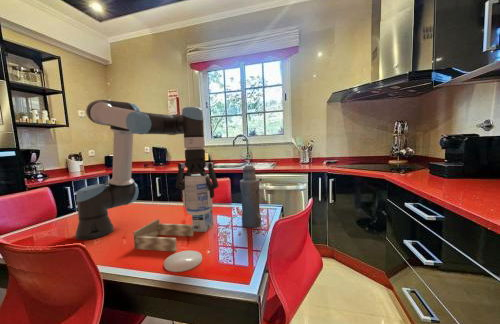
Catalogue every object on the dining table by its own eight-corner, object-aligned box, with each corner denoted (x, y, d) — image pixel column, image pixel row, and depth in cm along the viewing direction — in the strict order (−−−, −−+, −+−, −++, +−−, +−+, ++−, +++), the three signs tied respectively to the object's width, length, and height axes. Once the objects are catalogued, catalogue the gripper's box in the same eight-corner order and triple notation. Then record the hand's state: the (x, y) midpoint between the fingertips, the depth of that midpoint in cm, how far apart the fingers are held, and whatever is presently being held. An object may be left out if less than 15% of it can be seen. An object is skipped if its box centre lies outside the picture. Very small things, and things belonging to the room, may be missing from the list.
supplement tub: (202, 217, 81) (200, 177, 80) (181, 214, 85) (178, 176, 83) (215, 209, 90) (213, 173, 89) (196, 207, 94) (194, 173, 92)
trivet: (156, 270, 74) (155, 268, 74) (176, 251, 87) (176, 249, 87) (191, 273, 71) (191, 271, 71) (207, 253, 84) (207, 251, 84)
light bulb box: (205, 232, 104) (204, 210, 104) (192, 231, 106) (191, 209, 105) (213, 224, 115) (212, 203, 114) (201, 223, 116) (200, 203, 115)
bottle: (258, 228, 106) (255, 166, 104) (239, 227, 110) (236, 166, 107) (263, 221, 115) (261, 164, 113) (245, 220, 118) (243, 164, 116)
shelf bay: (134, 248, 90) (133, 232, 90) (157, 233, 105) (156, 219, 105) (175, 251, 87) (174, 234, 86) (193, 235, 102) (192, 220, 101)
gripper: (162, 150, 83) (167, 208, 85) (219, 148, 79) (222, 209, 81) (173, 149, 90) (176, 202, 92) (225, 147, 86) (227, 203, 88)
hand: (198, 205), depth 87 cm, fingers closed on supplement tub, 9 cm apart
